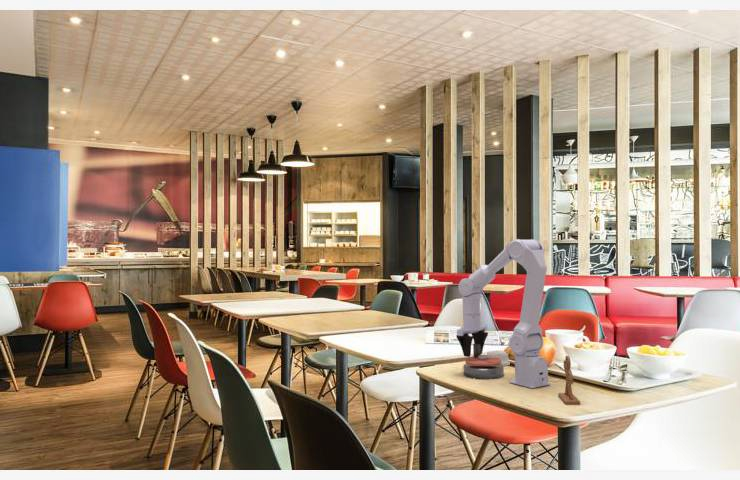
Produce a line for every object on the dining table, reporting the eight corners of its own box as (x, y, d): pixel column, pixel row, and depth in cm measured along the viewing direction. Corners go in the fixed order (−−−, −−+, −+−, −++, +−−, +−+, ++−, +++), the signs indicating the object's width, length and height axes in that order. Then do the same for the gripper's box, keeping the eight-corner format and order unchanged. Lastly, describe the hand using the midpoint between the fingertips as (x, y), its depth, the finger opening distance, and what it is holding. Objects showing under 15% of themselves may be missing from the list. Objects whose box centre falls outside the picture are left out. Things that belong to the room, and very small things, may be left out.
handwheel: (507, 366, 180) (507, 347, 180) (475, 369, 177) (474, 350, 177) (491, 360, 191) (490, 342, 191) (459, 362, 188) (459, 344, 188)
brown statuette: (580, 405, 146) (579, 358, 146) (565, 404, 146) (563, 358, 146) (572, 396, 154) (571, 352, 155) (558, 396, 155) (556, 352, 155)
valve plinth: (512, 375, 182) (512, 366, 182) (482, 381, 175) (482, 371, 175) (484, 369, 193) (484, 360, 193) (455, 374, 186) (455, 364, 186)
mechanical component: (485, 361, 209) (482, 366, 199) (484, 349, 209) (482, 353, 199) (512, 362, 206) (511, 367, 196) (512, 350, 206) (510, 354, 196)
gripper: (474, 311, 195) (475, 350, 195) (448, 315, 185) (450, 356, 185) (491, 312, 190) (492, 352, 190) (466, 316, 180) (467, 359, 180)
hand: (473, 355), depth 187 cm, fingers open, 6 cm apart
